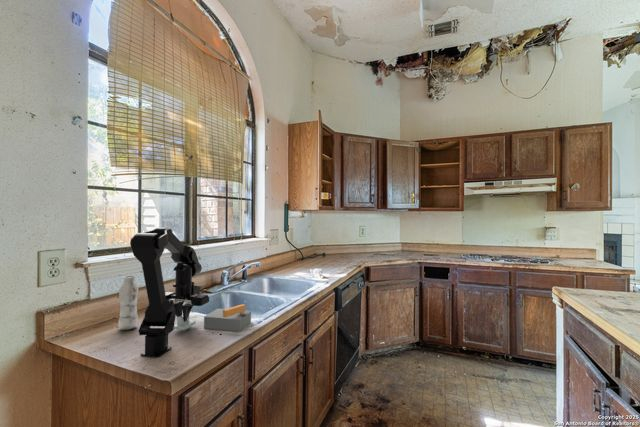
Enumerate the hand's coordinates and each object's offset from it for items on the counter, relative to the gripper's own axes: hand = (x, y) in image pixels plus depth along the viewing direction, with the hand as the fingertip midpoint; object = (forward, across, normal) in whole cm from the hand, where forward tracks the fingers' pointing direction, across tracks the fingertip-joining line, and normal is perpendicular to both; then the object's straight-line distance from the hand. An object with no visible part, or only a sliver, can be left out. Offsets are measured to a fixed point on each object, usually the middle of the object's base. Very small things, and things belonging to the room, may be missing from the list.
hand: (182, 321), depth 113 cm
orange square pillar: (-2, -19, -5) cm, 19 cm away
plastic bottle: (+4, +20, +4) cm, 21 cm away
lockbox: (+3, -14, -8) cm, 17 cm away
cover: (+2, -1, 0) cm, 2 cm away
